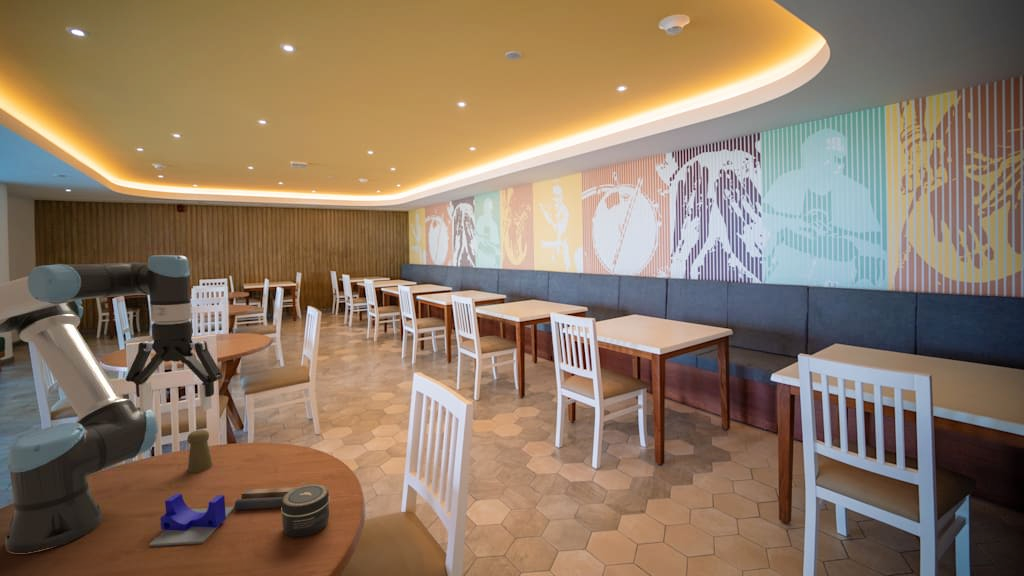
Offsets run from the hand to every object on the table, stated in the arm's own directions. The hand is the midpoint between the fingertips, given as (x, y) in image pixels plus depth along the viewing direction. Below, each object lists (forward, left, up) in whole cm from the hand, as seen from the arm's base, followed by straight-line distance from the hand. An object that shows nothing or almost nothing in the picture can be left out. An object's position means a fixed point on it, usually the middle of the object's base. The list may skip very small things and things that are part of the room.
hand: (176, 409), depth 105 cm
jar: (+32, -8, -26) cm, 42 cm away
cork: (-10, +24, -26) cm, 37 cm away
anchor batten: (+19, +4, -26) cm, 32 cm away
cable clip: (+6, -6, -26) cm, 27 cm away
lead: (+19, +1, -26) cm, 32 cm away
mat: (+6, -5, -26) cm, 27 cm away
